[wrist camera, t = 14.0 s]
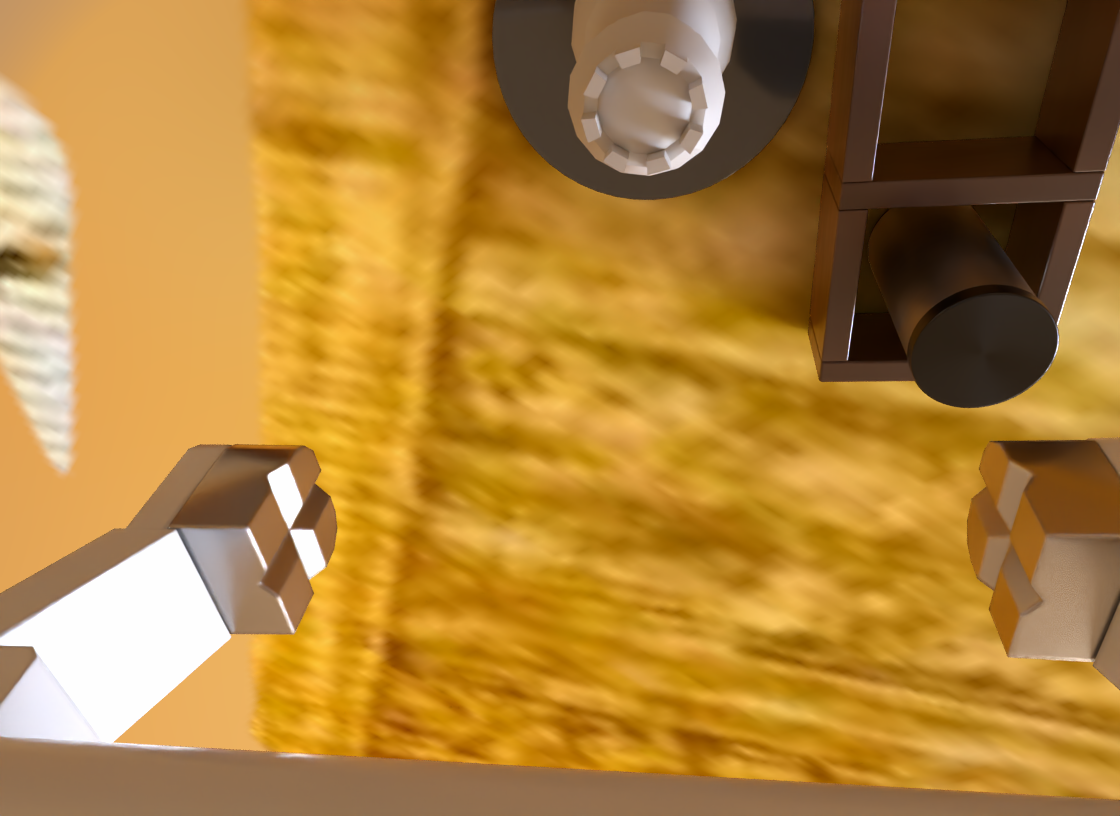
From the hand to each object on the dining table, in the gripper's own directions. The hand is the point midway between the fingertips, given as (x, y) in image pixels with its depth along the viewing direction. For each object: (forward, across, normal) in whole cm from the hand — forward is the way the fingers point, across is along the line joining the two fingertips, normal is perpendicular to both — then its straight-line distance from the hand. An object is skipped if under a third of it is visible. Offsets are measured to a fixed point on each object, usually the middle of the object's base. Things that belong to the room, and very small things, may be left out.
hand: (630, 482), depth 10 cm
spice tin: (+18, -8, +5) cm, 20 cm away
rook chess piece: (+17, 0, -2) cm, 17 cm away
